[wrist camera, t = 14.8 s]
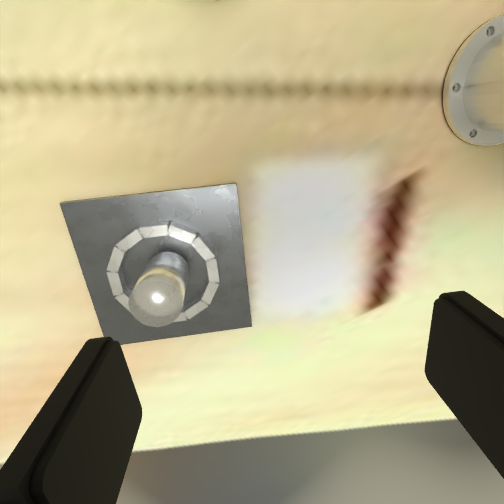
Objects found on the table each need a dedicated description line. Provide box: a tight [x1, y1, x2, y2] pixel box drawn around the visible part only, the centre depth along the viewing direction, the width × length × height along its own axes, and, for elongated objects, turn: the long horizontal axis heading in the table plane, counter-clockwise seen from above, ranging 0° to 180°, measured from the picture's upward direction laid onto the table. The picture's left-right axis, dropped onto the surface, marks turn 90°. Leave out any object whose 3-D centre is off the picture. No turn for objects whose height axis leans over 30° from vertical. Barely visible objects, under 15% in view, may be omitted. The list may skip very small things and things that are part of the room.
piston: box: [128, 252, 189, 327], centre depth 33 cm, size 5×5×8 cm
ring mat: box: [60, 183, 252, 345], centre depth 36 cm, size 19×19×2 cm
